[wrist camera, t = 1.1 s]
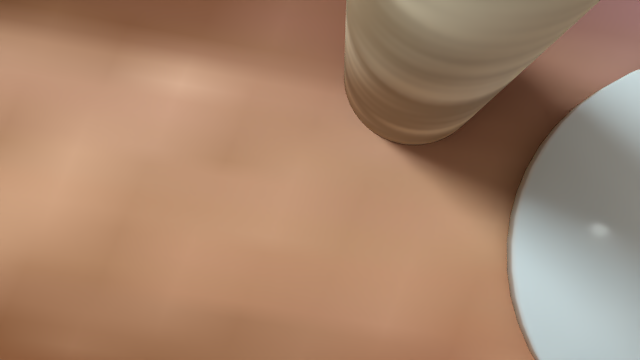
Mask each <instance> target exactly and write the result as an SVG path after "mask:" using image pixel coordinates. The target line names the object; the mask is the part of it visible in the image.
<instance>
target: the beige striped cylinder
mask: <svg viewBox="0 0 640 360" xmlns="http://www.w3.org/2000/svg"><path fill="white" fill-rule="evenodd" d="M599 1H600V0H346V30H345V60H344V84H345V90H346V94H347V98H348V100H349V103H350V105H351V107H352V109H353V111H354V112H355V114H356V115H357V117H358V118H359V119H360V120H361V122H362V123H363V124H364V125H365V126H366V127H368V128H369V129H370V130H371V131H373V132H374V133H376V134H377V135H379V136H381V137H383V138H385V139H387V140H390V141H393V142H396V143H401V144H407V145H420V144H428V143H432V142H436V141H438V140H441V139H443V138H445V137H447V136H449V135H451V134H453V133H454V132H455V131H457V130H458V129H459V128H461V127H462V126H463V125H464V124H465V123H466V122H467V121H468V120H469V119H470V118H472V117H473V116H474V115H475V114H476V113H477V112H478V111H479V110H480V109H481V108H483V107H484V106H485V105H486V104H487V103H488V102H489V101H490V100H491V99H492V98H493V97H495V96H496V95H497V94H498V93H499V92H500V91H501V90H502V89H503V88H504V87H506V86H507V85H508V84H509V83H510V82H511V81H512V80H513V79H514V78H515V77H517V76H518V75H519V74H520V73H521V72H522V71H523V70H524V69H525V68H526V67H528V66H529V65H530V64H531V63H532V62H533V61H534V60H535V59H536V58H537V57H539V56H540V55H541V54H542V53H543V52H544V51H545V50H546V49H547V48H548V47H550V46H551V45H552V44H553V43H554V42H555V41H556V40H557V39H558V38H559V37H561V36H562V35H563V34H564V33H565V32H566V31H567V30H568V29H569V28H570V27H572V26H573V25H574V24H575V23H576V22H577V21H578V20H579V19H580V18H581V17H582V16H584V15H585V14H586V13H587V12H588V11H589V10H590V9H591V8H592V7H593V6H595V5H596V4H597V3H598V2H599Z"/></svg>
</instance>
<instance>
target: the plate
mask: <svg viewBox="0 0 640 360" xmlns="http://www.w3.org/2000/svg"><path fill="white" fill-rule="evenodd" d="M507 274H508V281H509V288H510V296H511V300H512V303H513V307H514V311H515V314H516V318H517V322H518V324H519V327H520V329H521V332H522V334H523V336H524V339H525V341H526V344H527V346H528V348H529V350H530V352H531V354H532V355H533V357H534V359H535V360H640V69H639V70H636V71H634V72H631V73H630V74H628V75H626V76H624V77H622V78H620V79H619V80H617V81H615V82H613V83H611V84H610V85H608V86H606V87H604V88H603V89H601V90H599V91H597V92H595V93H594V94H592V95H591V96H590V97H588V98H587V99H586V100H584V101H583V102H582V103H580V104H579V105H577V106H576V107H575V108H573V109H572V110H571V111H570V112H569V113H568V114H567V115H566V116H565V117H564V118H563V119H562V120H561V121H560V122H559V123H558V124H557V125H556V126H555V127H554V128H553V130H552V131H551V132H550V133H549V135H548V136H547V137H546V139H545V140H544V141H543V142H542V144H541V145H540V146H539V148H538V150H537V151H536V153H535V155H534V156H533V158H532V160H531V162H530V163H529V165H528V167H527V168H526V171H525V173H524V176H523V178H522V181H521V183H520V185H519V188H518V190H517V193H516V197H515V200H514V204H513V208H512V212H511V216H510V222H509V230H508V237H507Z"/></svg>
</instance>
